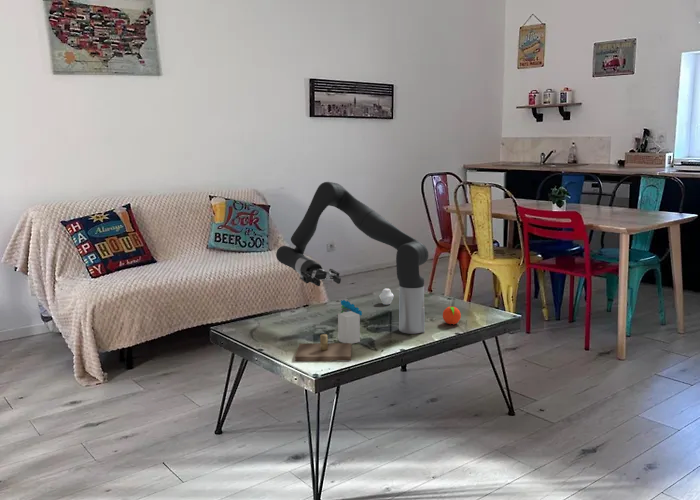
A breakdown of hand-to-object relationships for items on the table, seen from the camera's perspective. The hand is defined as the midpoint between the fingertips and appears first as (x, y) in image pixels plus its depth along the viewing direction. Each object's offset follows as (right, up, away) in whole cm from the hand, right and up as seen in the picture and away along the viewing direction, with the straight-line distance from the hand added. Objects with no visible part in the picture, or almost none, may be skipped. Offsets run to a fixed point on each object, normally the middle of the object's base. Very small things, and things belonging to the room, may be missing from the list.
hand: (329, 282), depth 225 cm
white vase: (+23, -12, +42) cm, 49 cm away
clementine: (+47, -17, +11) cm, 51 cm away
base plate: (-1, -23, -19) cm, 30 cm away
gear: (+8, -15, +24) cm, 29 cm away
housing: (+7, -21, -7) cm, 23 cm away
